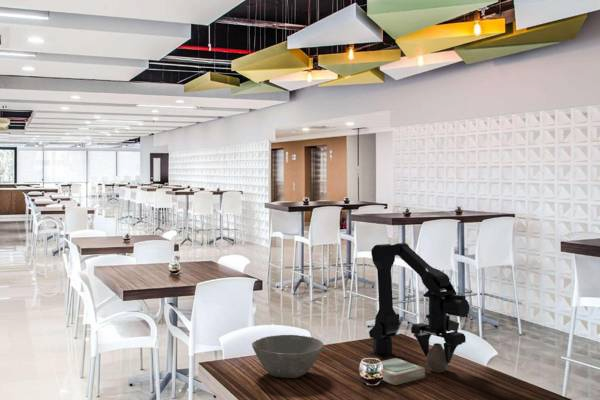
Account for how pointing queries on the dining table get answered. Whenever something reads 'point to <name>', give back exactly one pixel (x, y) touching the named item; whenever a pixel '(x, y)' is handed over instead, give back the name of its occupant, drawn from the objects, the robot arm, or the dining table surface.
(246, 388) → the dining table surface
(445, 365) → the vase
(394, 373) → the plinth
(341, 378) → the dining table surface
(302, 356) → the ceramic bowl
